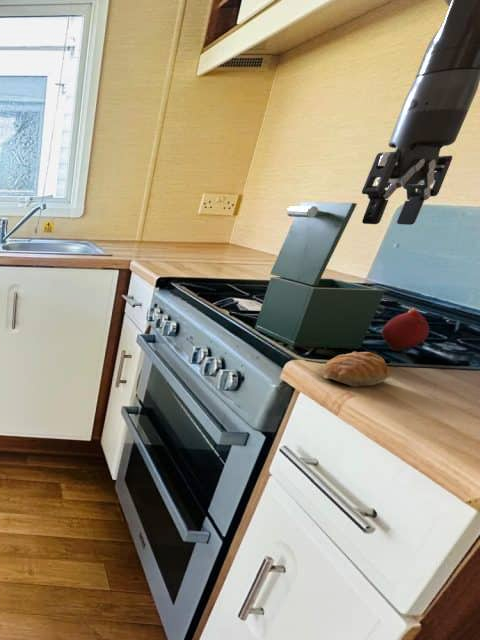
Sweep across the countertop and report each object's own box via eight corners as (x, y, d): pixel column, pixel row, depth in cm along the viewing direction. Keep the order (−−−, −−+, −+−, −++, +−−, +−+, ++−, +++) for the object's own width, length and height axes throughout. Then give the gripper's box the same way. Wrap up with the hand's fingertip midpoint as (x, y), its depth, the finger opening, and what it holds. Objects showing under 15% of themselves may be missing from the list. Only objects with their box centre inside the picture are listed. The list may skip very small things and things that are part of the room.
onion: (412, 349, 78) (433, 307, 75) (421, 358, 74) (444, 314, 71) (371, 343, 81) (390, 302, 78) (378, 351, 77) (398, 308, 73)
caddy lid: (305, 202, 79) (280, 198, 78) (357, 203, 68) (328, 198, 68) (273, 274, 84) (249, 270, 84) (317, 286, 73) (290, 281, 73)
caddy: (313, 330, 89) (333, 278, 84) (360, 348, 78) (385, 290, 74) (254, 328, 89) (270, 276, 84) (292, 346, 78) (314, 288, 74)
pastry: (361, 393, 59) (372, 368, 58) (307, 376, 64) (316, 353, 63) (388, 381, 63) (399, 358, 62) (335, 367, 69) (344, 344, 67)
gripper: (433, 102, 59) (384, 225, 66) (496, 110, 63) (443, 225, 69) (373, 111, 65) (333, 222, 72) (433, 118, 69) (390, 223, 76)
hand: (387, 224), depth 71 cm, fingers open, 8 cm apart
